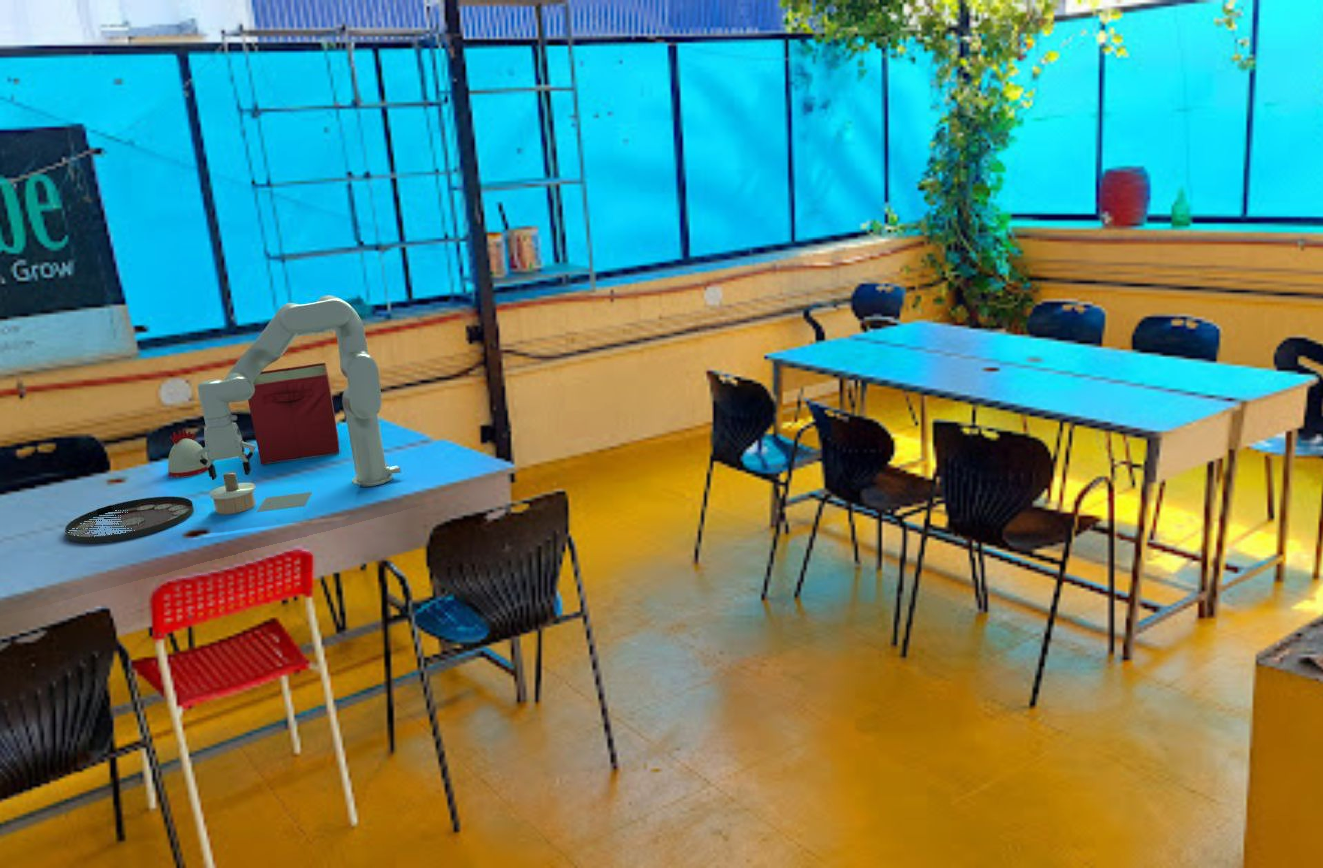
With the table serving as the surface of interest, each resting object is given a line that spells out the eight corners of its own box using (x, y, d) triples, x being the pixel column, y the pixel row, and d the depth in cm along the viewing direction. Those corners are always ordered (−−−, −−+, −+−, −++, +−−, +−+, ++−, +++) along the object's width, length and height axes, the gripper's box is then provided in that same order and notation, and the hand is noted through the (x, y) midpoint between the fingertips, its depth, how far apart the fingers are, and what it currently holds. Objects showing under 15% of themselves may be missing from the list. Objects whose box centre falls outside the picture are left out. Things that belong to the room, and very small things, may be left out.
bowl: (259, 502, 338) (255, 484, 337) (251, 514, 328) (247, 495, 326) (222, 507, 337) (218, 489, 336) (213, 519, 327) (209, 500, 325)
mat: (312, 494, 342) (312, 491, 341) (305, 508, 328) (304, 505, 328) (266, 500, 340) (266, 497, 340) (257, 515, 327) (256, 511, 326)
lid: (259, 483, 338) (256, 465, 336) (250, 495, 325) (246, 477, 324) (215, 488, 336) (212, 470, 335) (205, 501, 324) (201, 482, 322)
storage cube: (262, 447, 407) (247, 370, 400) (338, 435, 414) (326, 360, 407) (259, 469, 377) (243, 387, 370) (341, 456, 385) (327, 375, 377)
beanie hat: (163, 473, 384) (154, 431, 380) (203, 463, 393) (194, 422, 389) (177, 479, 374) (168, 437, 370) (217, 469, 382) (209, 427, 378)
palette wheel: (160, 498, 355) (158, 490, 354) (215, 513, 333) (214, 505, 332) (47, 533, 329) (45, 524, 329) (99, 552, 307) (97, 543, 307)
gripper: (251, 414, 330) (263, 468, 334) (192, 422, 328) (204, 476, 333) (246, 420, 323) (258, 475, 327) (185, 428, 321) (198, 484, 325)
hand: (231, 476), depth 330 cm, fingers open, 9 cm apart
